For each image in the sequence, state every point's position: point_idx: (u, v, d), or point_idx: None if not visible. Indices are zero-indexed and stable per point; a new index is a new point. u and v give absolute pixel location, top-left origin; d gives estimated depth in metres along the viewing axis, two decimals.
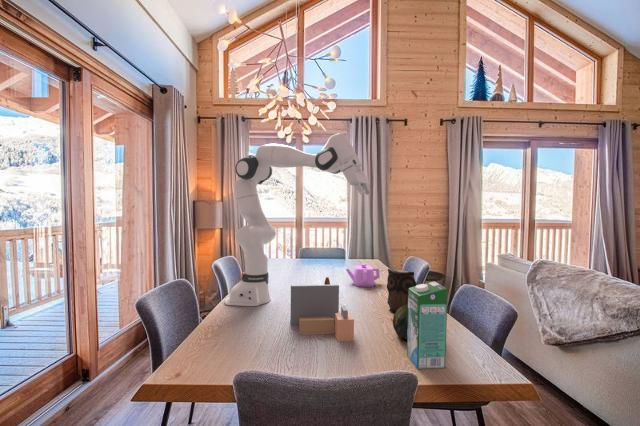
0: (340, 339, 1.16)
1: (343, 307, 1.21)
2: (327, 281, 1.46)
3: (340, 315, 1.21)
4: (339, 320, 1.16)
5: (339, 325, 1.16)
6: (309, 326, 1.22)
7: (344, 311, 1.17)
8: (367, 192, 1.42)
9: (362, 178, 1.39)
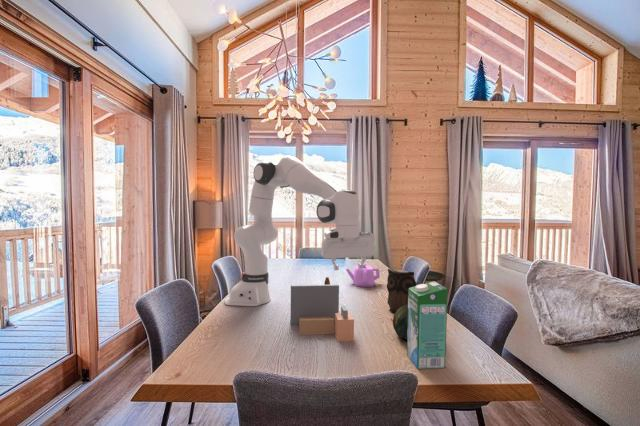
0: (340, 339, 1.16)
1: (343, 307, 1.21)
2: (327, 281, 1.46)
3: (340, 315, 1.21)
4: (339, 320, 1.16)
5: (339, 325, 1.16)
6: (309, 326, 1.22)
7: (344, 311, 1.17)
8: (359, 266, 1.21)
9: (350, 251, 1.18)
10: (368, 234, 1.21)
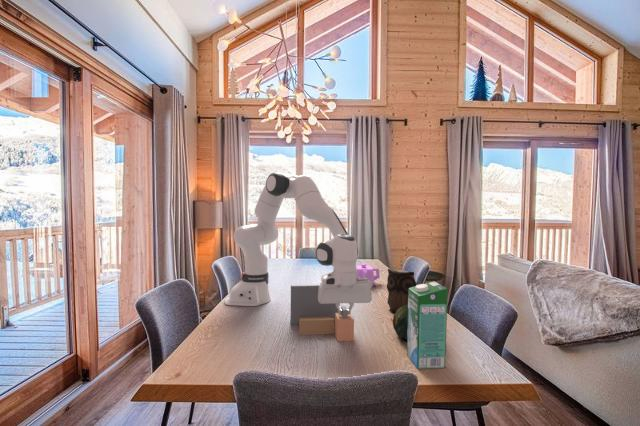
0: (340, 339, 1.16)
1: (343, 307, 1.21)
2: None
3: (340, 315, 1.21)
4: (339, 320, 1.16)
5: (339, 325, 1.16)
6: (309, 326, 1.22)
7: (344, 311, 1.17)
8: None
9: (346, 297, 1.18)
10: (365, 280, 1.20)
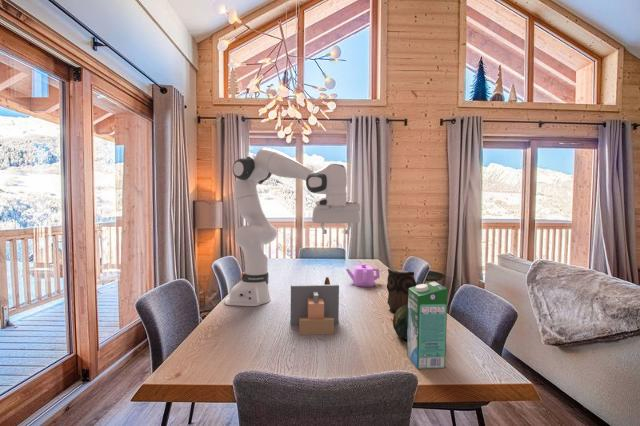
0: None
1: (315, 293, 1.28)
2: (327, 281, 1.46)
3: (312, 300, 1.28)
4: (310, 304, 1.24)
5: (310, 309, 1.24)
6: (309, 326, 1.22)
7: (315, 296, 1.25)
8: (345, 231, 1.37)
9: (337, 218, 1.34)
10: (354, 203, 1.36)
